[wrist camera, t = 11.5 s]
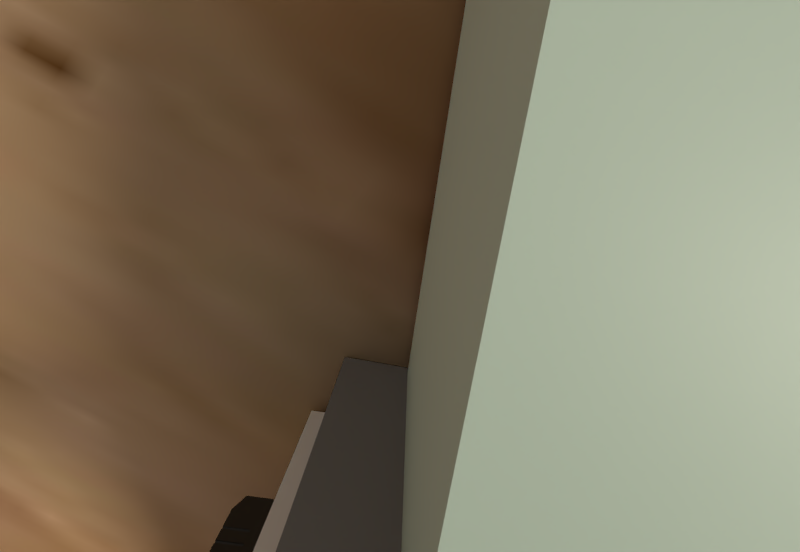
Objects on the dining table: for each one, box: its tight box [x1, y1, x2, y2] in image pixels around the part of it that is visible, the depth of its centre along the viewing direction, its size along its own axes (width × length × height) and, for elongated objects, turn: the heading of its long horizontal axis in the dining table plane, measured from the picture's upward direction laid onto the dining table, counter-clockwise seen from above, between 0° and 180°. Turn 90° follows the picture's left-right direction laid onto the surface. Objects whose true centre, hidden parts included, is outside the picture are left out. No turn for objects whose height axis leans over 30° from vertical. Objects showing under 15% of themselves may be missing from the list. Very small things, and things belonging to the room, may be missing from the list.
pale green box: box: [401, 0, 800, 552], centre depth 7 cm, size 8×15×10 cm, turn 172°
